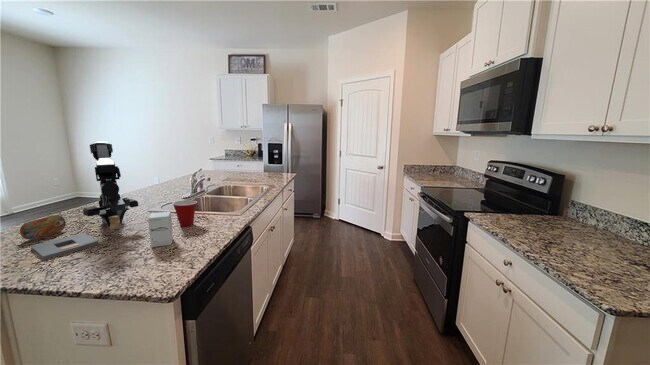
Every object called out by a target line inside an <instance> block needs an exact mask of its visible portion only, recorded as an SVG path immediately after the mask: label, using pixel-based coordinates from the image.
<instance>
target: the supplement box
mask: <svg viewBox="0 0 650 365" xmlns="http://www.w3.org/2000/svg"><path fill="white" fill-rule="evenodd" d="M147 220H148V229H149V231H148V232H149V240H150V247H151V248H155V247H162V246H163V247H165V246H171V245H172V244H173V238H174V236H173V224H172V212H171V211H162V212H152V213H151V212H150V215H149V216H148V218H147Z"/></svg>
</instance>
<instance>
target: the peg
mask: <svg viewBox="0 0 650 365" xmlns="http://www.w3.org/2000/svg"><path fill="white" fill-rule="evenodd" d="M108 219H109V223H110V227H108V228H109V230H117V229H119V228H121V227H122V226H121V225H122V224H120V218H119V216H111V217H108Z"/></svg>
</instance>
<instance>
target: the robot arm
mask: <svg viewBox="0 0 650 365" xmlns="http://www.w3.org/2000/svg"><path fill="white" fill-rule="evenodd" d="M89 150H90V154H92V156H93V159H95V164H96V166H94V172H95V178H96V182H99V186H100V192H101V194H100V195H99V199H98V207H97V206H96V205H93V206H88V207H84V208H82V214H83V215H84V216H86V217H94V216H98V217H100V218H101V222H102V223H103V224H105V225H106V226H107V228H109V227H110V223H109V219H108V217H111V216H119V218H120V225H122V224H123V223H122V222H123V220H124V218H125V214H126V212H127V211H130V208H137V207H139V202H138V200H136V199H133V198H129V197H124V198H122V196H121V195H120V193H119V192H120V187H119V185H118V183H117V182H118V181H117V180H120V178H121V177H122V176H121V175H122V174H121V170H120V167H119V166H118V165H116V164H115V161H114V160H112V159H111V157H112V154H113V153H114V151H113V145H112V143H108V142H107V141H95V142H94V143H91V144H89Z"/></svg>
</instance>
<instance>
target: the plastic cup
mask: <svg viewBox="0 0 650 365" xmlns="http://www.w3.org/2000/svg"><path fill="white" fill-rule="evenodd" d="M197 203H198V201H196V200H179V201H173V202H172V205H173V207H174V210H175V214H176V217H177V221H178V223H179V226H180V227H181V228H182V227H184V228H186V227H191V226H194V220H195V214H196V213H195V212H196V211H195V210H196V206H197Z"/></svg>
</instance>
